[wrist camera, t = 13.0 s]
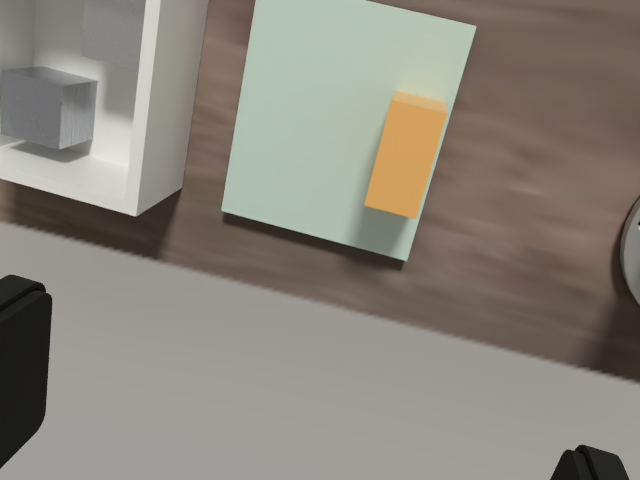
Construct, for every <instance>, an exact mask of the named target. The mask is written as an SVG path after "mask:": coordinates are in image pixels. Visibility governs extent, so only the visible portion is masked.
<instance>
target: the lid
mask: <svg viewBox="0 0 640 480" xmlns="http://www.w3.org/2000/svg"><path fill="white" fill-rule="evenodd" d="M476 27H477V26H474V25H470V24H465V23H461V22H457V21H452V20H448V19H444V18H439V17H435V16H431V15H426V14H422V13H418V12H413V11H409V10H405V9H401V8H396V7H392V6H388V5H383V4H379V3H375V2H370V1H366V0H256V3H255V9H254V15H253V21H252V27H251V33H250V39H249V45H248V51H247V58H246V64H245V70H244V76H243V82H242V88H241V94H240V100H239V106H238V112H237V118H236V124H235V130H234V137H233V143H232V149H231V155H230V161H229V167H228V173H227V179H226V185H225V191H224V197H223V203H222V210H221V211H224V212H227V213H231V214H235V215H238V216H242V217H246V218H249V219H253V220H257V221H261V222H264V223H268V224H272V225H275V226H279V227H283V228H286V229H290V230H294V231H297V232H301V233H305V234H308V235H312V236H316V237H320V238H323V239H327V240H331V241H334V242H338V243H342V244H345V245H349V246H353V247H356V248H360V249H364V250H368V251H371V252H375V253H379V254H382V255H386V256H390V257H393V258H397V259H401V260H404V261H407V259H408V256H409V252H410V249H411V246H412V242H413V239H414V235H415V232H416V229H417V225H418V222H419V219H420V215H421V212H422V209H423V205H424V202H425V198H426V195H427V192H428V188H429V185H430V182H431V178H432V175H433V171H434V168H435V165H436V161H437V158H438V155H439V151H440V148H441V145H442V141H443V138H444V134H445V131H446V128H447V124H448V121H449V118H450V114H451V111H452V108H453V104H454V101H455V97H456V94H457V91H458V87H459V84H460V81H461V77H462V74H463V70H464V67H465V64H466V60H467V57H468V54H469V50H470V47H471V44H472V40H473V37H474V33H475V30H476Z"/></svg>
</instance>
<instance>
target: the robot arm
mask: <svg viewBox="0 0 640 480" xmlns="http://www.w3.org/2000/svg"><path fill="white" fill-rule="evenodd" d="M639 221H640V198H639V199H638V200H637V202H636V203H635V205H634V207H633V209H632V211H631V213H630V215H629V217H628V219H627V220H626V223H625V227H624V230H623V234H622V238H621V247H620V261H621V267H622V273H623V276H624V279H625V281H626V283H627V286H628V288H629V290H630V292H631V293H632V295H633V296H634V298H635V299H636V301H637V302H638V303H639V305H640V224H638V223H639ZM51 315H52V297H51V295H49V294H48V293H46V289H45V287H44V285H43V284H42V283H39V282H36V281H32V280H29V279H26V278H23V277H19V276H16V275H8V276H6V277H4V278H2V279H0V468H1V467H2V466H3V465H4V464H5V463H6V462H7V461H8V460H9V459H10V458H11V457H12V456H13V455H14V454H15V453H16V452H17V451H18V450H19V449H20V448H21V447H22V446H23V445H24V444H25V443H26V442H27V441H28V440H29V439H30V438H31V437H32V436H33V435H34V434H35V433H36V432H37V431H38V429H39V427H40V426H41V424H42V422H43V420H44V416H45V411H46V396H47V379H48V363H49V346H50V331H51ZM550 480H629V478H628V475H627V473H626V471H625V469H624V466H623V464H622V462H621V460H620V458H619V457H618V456H617V455H615V454H613V453H609V452H606V451H602V450H599V449H595V448H592V447H589V446H586V445H579V446H578V447H577V448H576V449H575V451H572V450H566V451H565V452H564V453H563V455H562V456H561V458H560V461H559V463H558V465H557V467H556V469H555V471H554V473H553V475H552V477H551V479H550Z"/></svg>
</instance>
